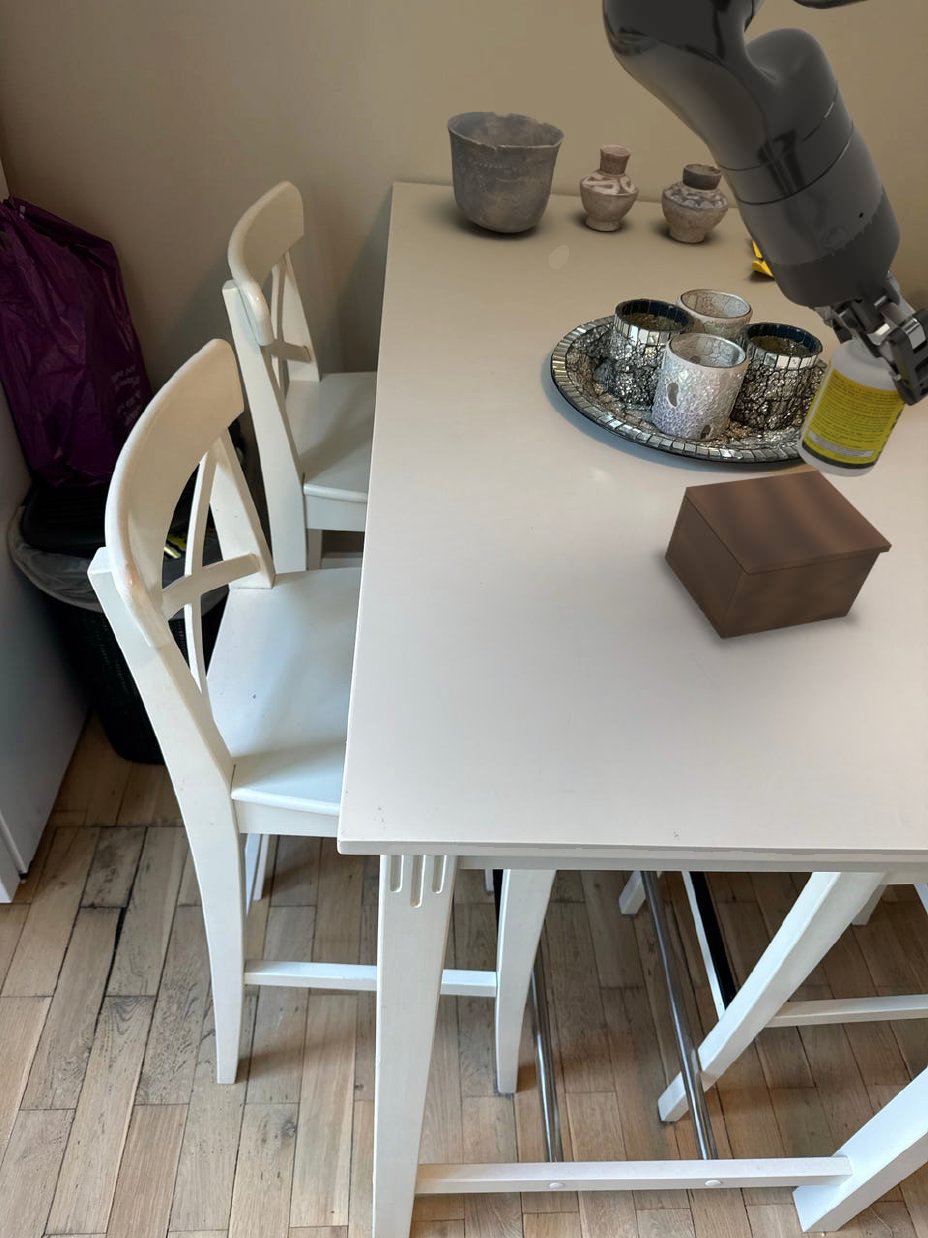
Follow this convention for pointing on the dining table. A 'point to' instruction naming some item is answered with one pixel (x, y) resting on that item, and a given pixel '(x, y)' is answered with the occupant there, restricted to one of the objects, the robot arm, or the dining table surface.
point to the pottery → (683, 203)
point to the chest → (758, 582)
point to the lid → (785, 521)
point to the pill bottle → (850, 413)
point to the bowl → (502, 168)
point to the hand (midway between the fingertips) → (889, 371)
